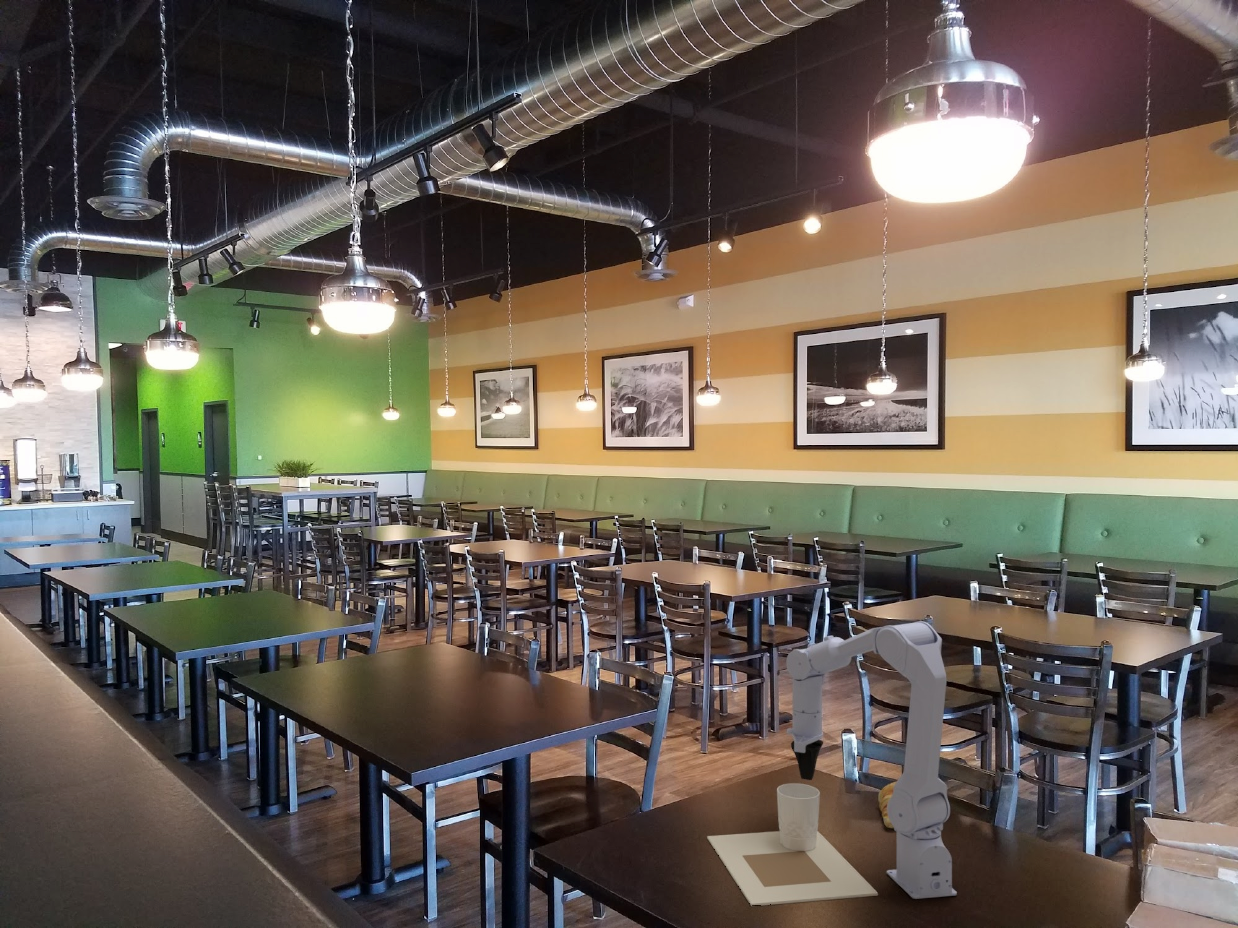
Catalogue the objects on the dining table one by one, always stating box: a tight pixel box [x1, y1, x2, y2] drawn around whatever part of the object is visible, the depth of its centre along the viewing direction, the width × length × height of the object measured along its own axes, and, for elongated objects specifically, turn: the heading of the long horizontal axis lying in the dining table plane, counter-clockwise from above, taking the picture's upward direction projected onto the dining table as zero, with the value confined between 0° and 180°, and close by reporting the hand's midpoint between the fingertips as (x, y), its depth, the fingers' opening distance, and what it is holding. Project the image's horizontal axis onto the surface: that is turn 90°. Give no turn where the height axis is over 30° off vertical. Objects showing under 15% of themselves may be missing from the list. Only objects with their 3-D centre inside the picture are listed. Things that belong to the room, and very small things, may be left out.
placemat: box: [706, 830, 879, 907], centre depth 152 cm, size 26×22×1 cm
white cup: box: [776, 782, 821, 851], centre depth 160 cm, size 8×8×10 cm
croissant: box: [877, 780, 898, 829], centre depth 175 cm, size 21×10×8 cm, turn 146°
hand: (807, 778), depth 168 cm, fingers closed
